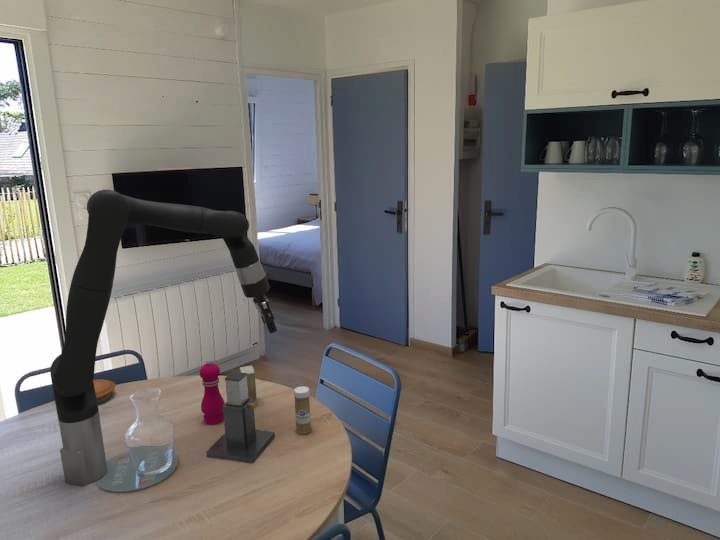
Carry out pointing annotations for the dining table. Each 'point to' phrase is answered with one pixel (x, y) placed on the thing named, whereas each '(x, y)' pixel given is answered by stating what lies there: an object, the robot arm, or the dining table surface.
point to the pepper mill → (211, 394)
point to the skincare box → (250, 382)
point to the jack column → (237, 389)
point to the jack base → (240, 435)
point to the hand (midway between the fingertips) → (270, 327)
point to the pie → (103, 389)
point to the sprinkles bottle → (302, 410)
